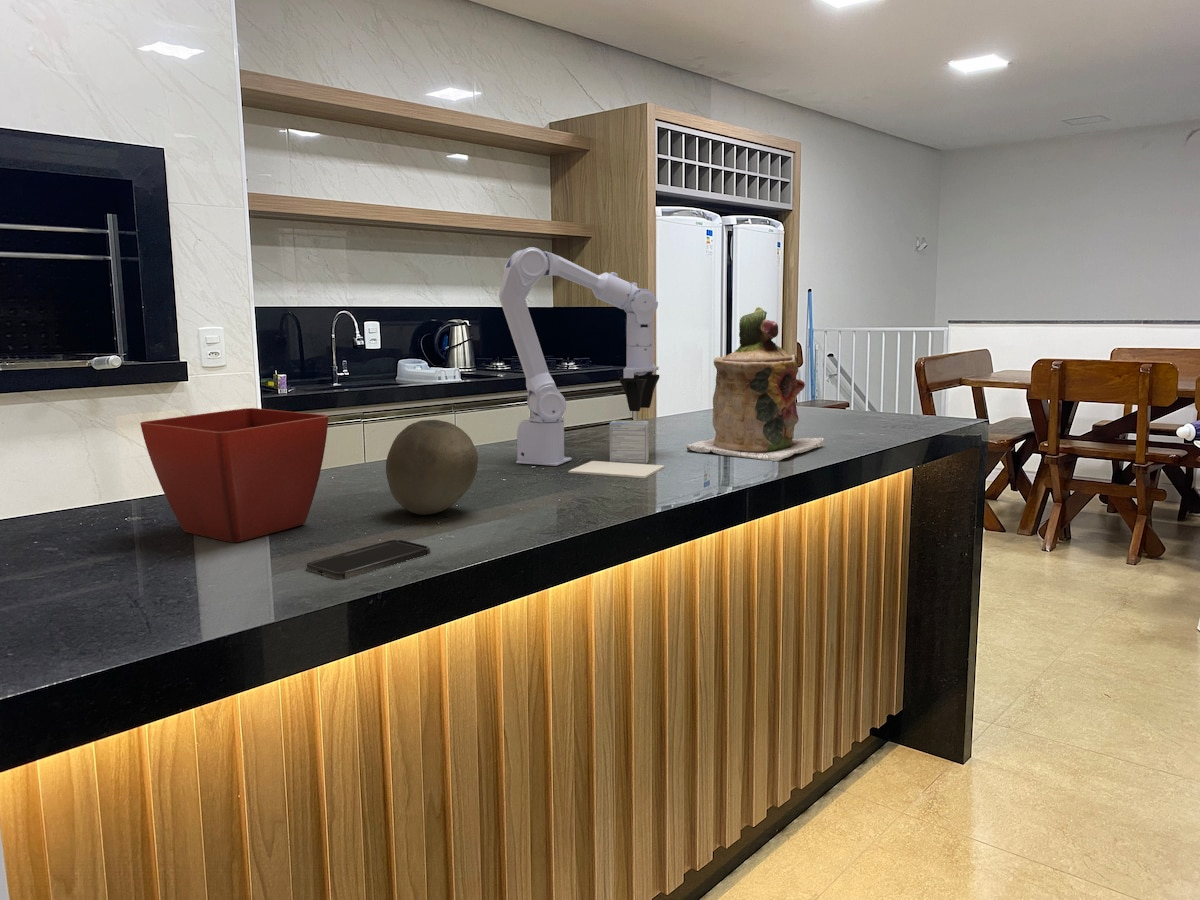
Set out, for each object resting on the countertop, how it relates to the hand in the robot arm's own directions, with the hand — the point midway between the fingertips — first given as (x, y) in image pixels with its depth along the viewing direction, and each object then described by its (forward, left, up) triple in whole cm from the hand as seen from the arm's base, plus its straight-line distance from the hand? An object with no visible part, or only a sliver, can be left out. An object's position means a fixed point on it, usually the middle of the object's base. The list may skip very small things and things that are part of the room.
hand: (639, 409), depth 193 cm
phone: (-6, -87, -11) cm, 88 cm away
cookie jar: (+21, +19, -11) cm, 30 cm away
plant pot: (-34, -80, -11) cm, 88 cm away
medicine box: (0, -7, -11) cm, 13 cm away
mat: (+1, -16, -10) cm, 19 cm away
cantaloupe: (-13, -61, -11) cm, 63 cm away
